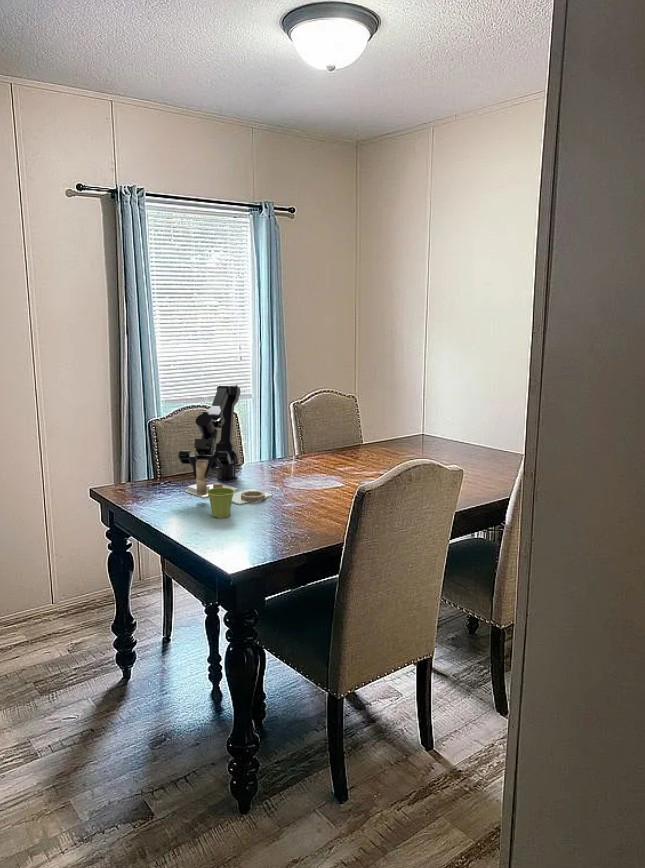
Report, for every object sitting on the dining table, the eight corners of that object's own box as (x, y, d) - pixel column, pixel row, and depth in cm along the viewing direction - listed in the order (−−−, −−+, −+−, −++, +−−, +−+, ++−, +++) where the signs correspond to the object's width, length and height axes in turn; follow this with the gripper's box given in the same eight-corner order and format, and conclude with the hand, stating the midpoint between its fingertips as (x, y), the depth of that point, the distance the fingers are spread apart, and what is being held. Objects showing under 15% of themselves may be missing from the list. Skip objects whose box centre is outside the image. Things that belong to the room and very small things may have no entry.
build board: (252, 490, 262) (252, 484, 262) (276, 497, 252) (276, 492, 252) (219, 498, 251) (219, 492, 250) (243, 506, 241) (243, 500, 241)
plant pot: (231, 510, 237) (230, 486, 235) (237, 518, 228) (237, 493, 226) (204, 512, 233) (204, 488, 232) (210, 521, 225) (209, 496, 223)
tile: (218, 484, 270) (218, 475, 270) (237, 490, 262) (237, 481, 261) (185, 491, 259) (185, 482, 258) (204, 498, 251) (203, 488, 250)
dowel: (203, 492, 249) (202, 460, 246) (208, 494, 246) (207, 462, 244) (194, 494, 246) (193, 462, 244) (200, 496, 244) (199, 464, 241)
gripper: (178, 428, 246) (169, 465, 238) (228, 430, 244) (220, 467, 236) (186, 445, 256) (177, 480, 247) (234, 446, 253) (227, 482, 245)
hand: (200, 477), depth 243 cm, fingers closed on dowel, 4 cm apart
